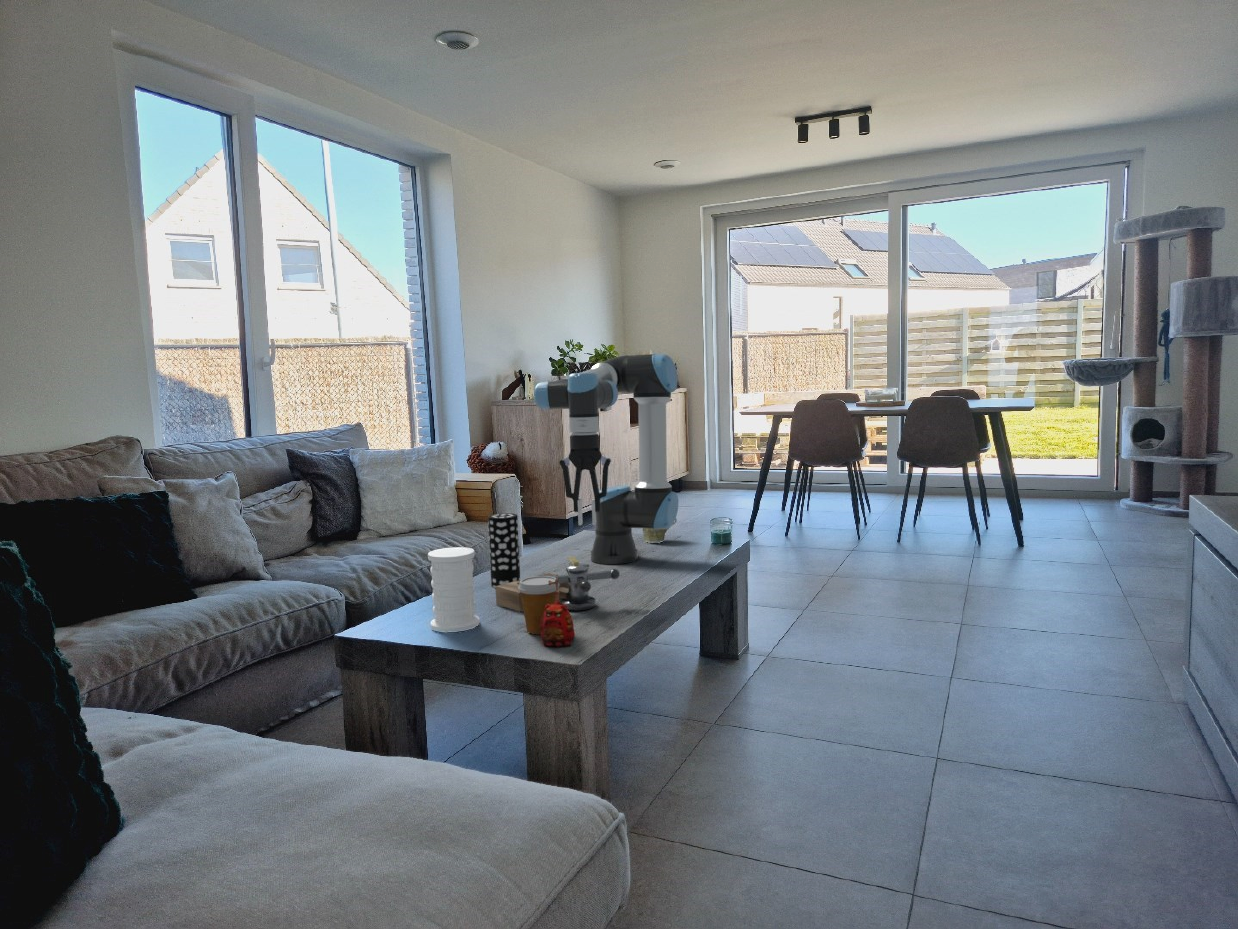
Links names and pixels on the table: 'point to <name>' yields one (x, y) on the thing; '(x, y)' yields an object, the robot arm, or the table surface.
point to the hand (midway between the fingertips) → (587, 524)
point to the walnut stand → (511, 595)
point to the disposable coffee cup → (536, 599)
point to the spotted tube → (504, 548)
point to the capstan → (581, 584)
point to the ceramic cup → (654, 534)
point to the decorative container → (453, 589)
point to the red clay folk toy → (556, 623)
